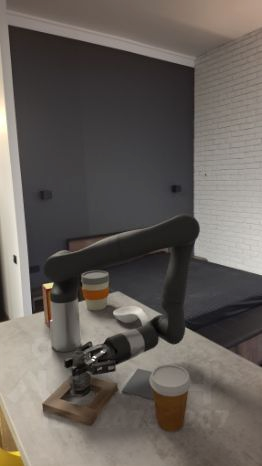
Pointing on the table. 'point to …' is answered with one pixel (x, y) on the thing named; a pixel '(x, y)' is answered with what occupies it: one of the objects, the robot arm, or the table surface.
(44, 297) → the baking soda box
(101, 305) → the reusable coffee cup
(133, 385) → the charcoal coaster
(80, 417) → the walnut holder
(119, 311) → the spoon rest
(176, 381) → the disposable coffee cup
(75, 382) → the black chess piece
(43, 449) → the table surface
